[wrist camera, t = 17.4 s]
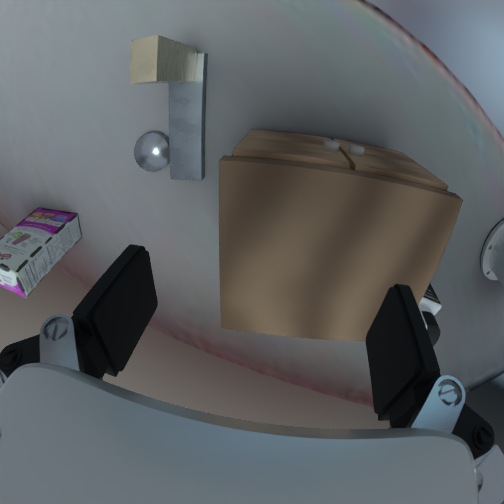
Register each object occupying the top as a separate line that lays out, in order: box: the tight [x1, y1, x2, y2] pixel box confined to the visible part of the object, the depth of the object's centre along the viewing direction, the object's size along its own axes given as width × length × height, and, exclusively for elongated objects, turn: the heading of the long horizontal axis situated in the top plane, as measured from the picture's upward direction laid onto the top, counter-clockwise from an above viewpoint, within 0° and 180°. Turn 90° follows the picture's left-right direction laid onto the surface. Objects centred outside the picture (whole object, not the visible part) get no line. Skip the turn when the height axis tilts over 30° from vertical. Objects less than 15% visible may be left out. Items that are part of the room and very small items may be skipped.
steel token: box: [134, 132, 170, 172], centre depth 31 cm, size 5×5×2 cm
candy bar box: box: [0, 208, 82, 298], centre depth 33 cm, size 11×5×16 cm, turn 83°
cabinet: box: [219, 129, 463, 342], centre depth 26 cm, size 17×16×16 cm
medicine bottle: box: [418, 284, 441, 346], centre depth 34 cm, size 7×7×12 cm
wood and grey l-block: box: [130, 35, 208, 181], centre depth 24 cm, size 4×16×12 cm, turn 177°
